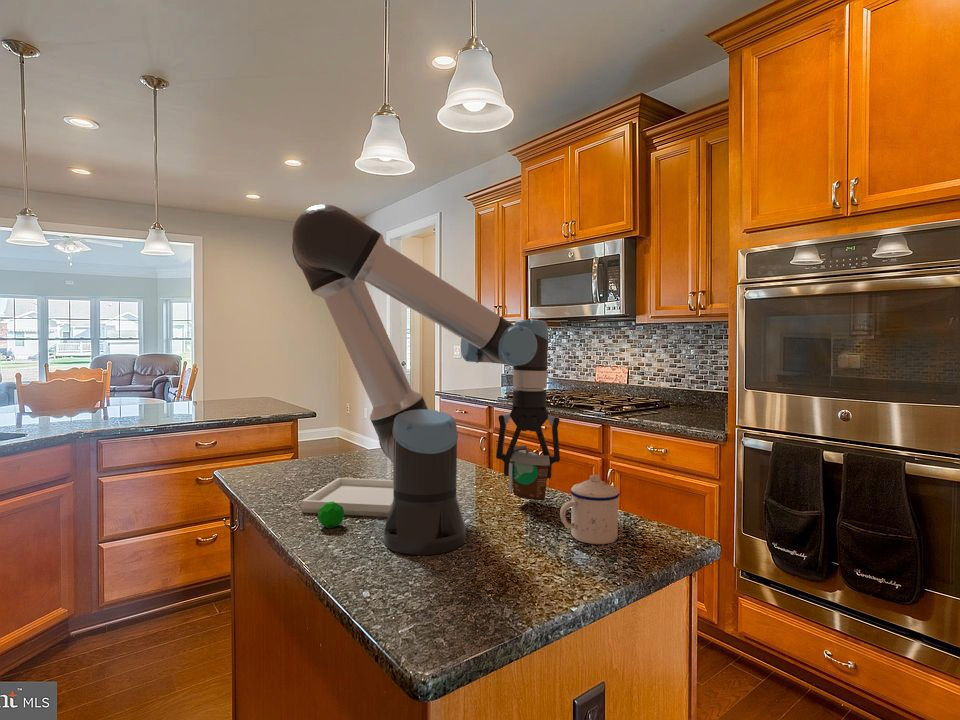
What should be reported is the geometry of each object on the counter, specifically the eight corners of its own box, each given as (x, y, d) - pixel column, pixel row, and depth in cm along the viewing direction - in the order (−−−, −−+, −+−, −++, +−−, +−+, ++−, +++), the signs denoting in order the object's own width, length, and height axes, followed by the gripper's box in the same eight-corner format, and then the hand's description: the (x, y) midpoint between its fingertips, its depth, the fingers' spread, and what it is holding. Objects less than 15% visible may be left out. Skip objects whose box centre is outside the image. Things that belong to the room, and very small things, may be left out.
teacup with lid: (599, 525, 108) (600, 468, 108) (629, 541, 100) (630, 479, 99) (547, 534, 103) (548, 473, 103) (574, 551, 95) (575, 485, 94)
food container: (499, 488, 125) (501, 445, 125) (523, 486, 127) (525, 444, 127) (522, 503, 114) (524, 457, 113) (547, 502, 116) (550, 456, 115)
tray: (390, 517, 112) (390, 505, 112) (301, 512, 115) (301, 500, 115) (414, 491, 131) (414, 481, 131) (338, 487, 134) (338, 477, 134)
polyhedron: (341, 531, 104) (341, 506, 104) (315, 531, 104) (315, 507, 104) (346, 522, 109) (346, 499, 109) (321, 522, 109) (321, 499, 109)
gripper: (573, 389, 122) (571, 489, 123) (488, 386, 125) (485, 484, 126) (575, 392, 115) (572, 498, 116) (483, 389, 118) (481, 493, 118)
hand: (527, 491), depth 121 cm, fingers closed on food container, 7 cm apart
